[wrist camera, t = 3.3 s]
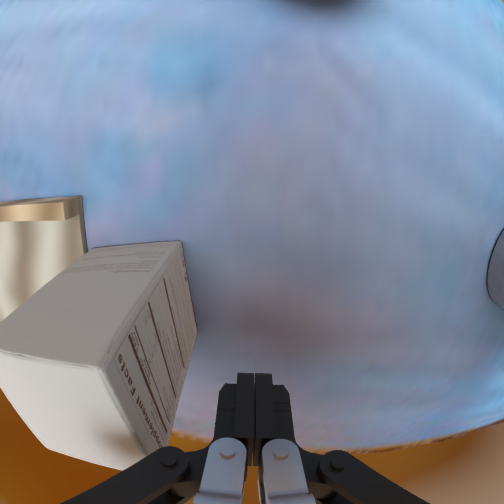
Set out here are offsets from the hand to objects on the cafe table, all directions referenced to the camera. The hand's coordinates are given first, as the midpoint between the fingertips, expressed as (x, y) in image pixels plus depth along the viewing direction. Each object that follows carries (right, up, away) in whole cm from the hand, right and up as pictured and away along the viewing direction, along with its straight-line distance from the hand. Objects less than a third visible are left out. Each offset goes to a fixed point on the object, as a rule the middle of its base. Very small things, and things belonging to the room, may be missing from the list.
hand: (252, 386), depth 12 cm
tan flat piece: (-20, +4, +8) cm, 21 cm away
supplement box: (-8, +3, +8) cm, 12 cm away
